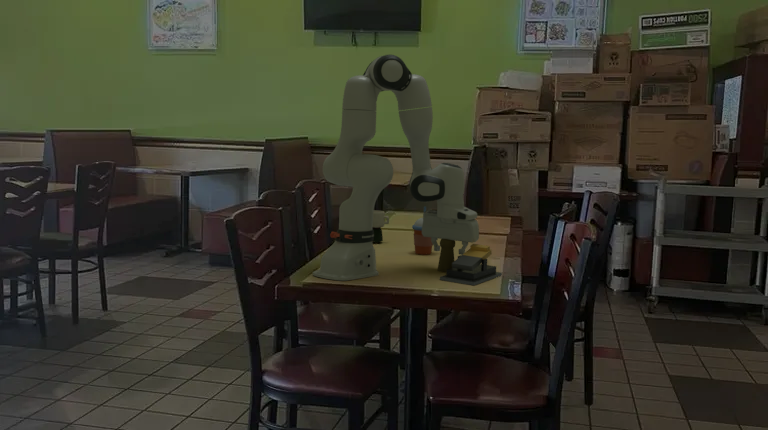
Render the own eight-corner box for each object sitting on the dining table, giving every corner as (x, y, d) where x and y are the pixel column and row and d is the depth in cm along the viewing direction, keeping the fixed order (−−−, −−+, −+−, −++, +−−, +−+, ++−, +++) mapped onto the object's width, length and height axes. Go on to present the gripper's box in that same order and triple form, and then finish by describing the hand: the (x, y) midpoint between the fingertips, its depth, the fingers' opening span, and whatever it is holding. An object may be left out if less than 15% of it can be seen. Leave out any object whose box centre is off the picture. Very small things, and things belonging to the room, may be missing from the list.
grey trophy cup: (388, 241, 294) (389, 210, 293) (387, 244, 287) (388, 212, 286) (362, 240, 295) (363, 209, 294) (361, 243, 288) (362, 211, 286)
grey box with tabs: (474, 285, 215) (475, 264, 214) (439, 279, 222) (440, 259, 221) (501, 275, 231) (502, 255, 231) (469, 270, 238) (470, 251, 237)
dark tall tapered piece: (437, 268, 240) (438, 236, 239) (454, 269, 240) (456, 237, 239) (437, 271, 234) (439, 239, 233) (456, 272, 234) (457, 239, 233)
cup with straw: (433, 256, 264) (435, 208, 262) (409, 254, 265) (411, 207, 263) (436, 252, 273) (438, 206, 270) (413, 250, 274) (415, 204, 272)
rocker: (472, 271, 219) (471, 262, 218) (452, 267, 222) (451, 259, 222) (491, 254, 229) (491, 246, 228) (472, 251, 233) (471, 243, 232)
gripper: (418, 210, 238) (417, 250, 240) (473, 215, 227) (471, 257, 229) (428, 208, 243) (427, 247, 245) (481, 213, 232) (480, 254, 234)
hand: (449, 252), depth 237 cm, fingers open, 8 cm apart
